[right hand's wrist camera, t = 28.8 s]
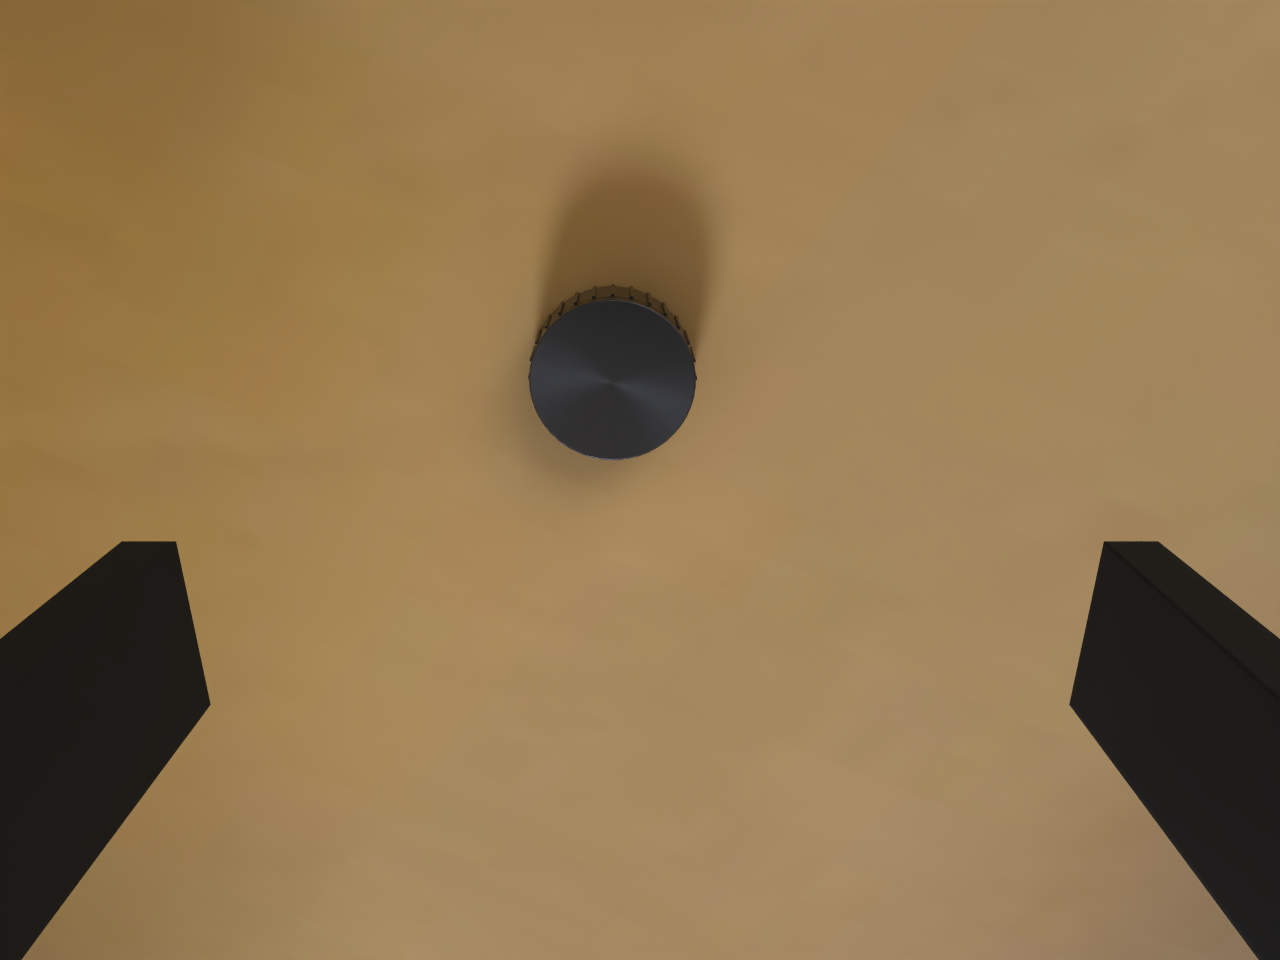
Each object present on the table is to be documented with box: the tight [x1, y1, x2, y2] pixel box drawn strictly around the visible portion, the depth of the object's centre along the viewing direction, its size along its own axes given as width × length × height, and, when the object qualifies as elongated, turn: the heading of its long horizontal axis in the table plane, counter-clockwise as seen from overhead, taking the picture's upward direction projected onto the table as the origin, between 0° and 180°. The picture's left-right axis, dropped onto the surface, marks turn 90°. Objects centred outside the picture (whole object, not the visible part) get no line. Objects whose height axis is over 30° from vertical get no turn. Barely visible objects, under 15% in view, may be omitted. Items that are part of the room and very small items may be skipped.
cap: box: [528, 284, 697, 460], centre depth 24 cm, size 4×4×2 cm
